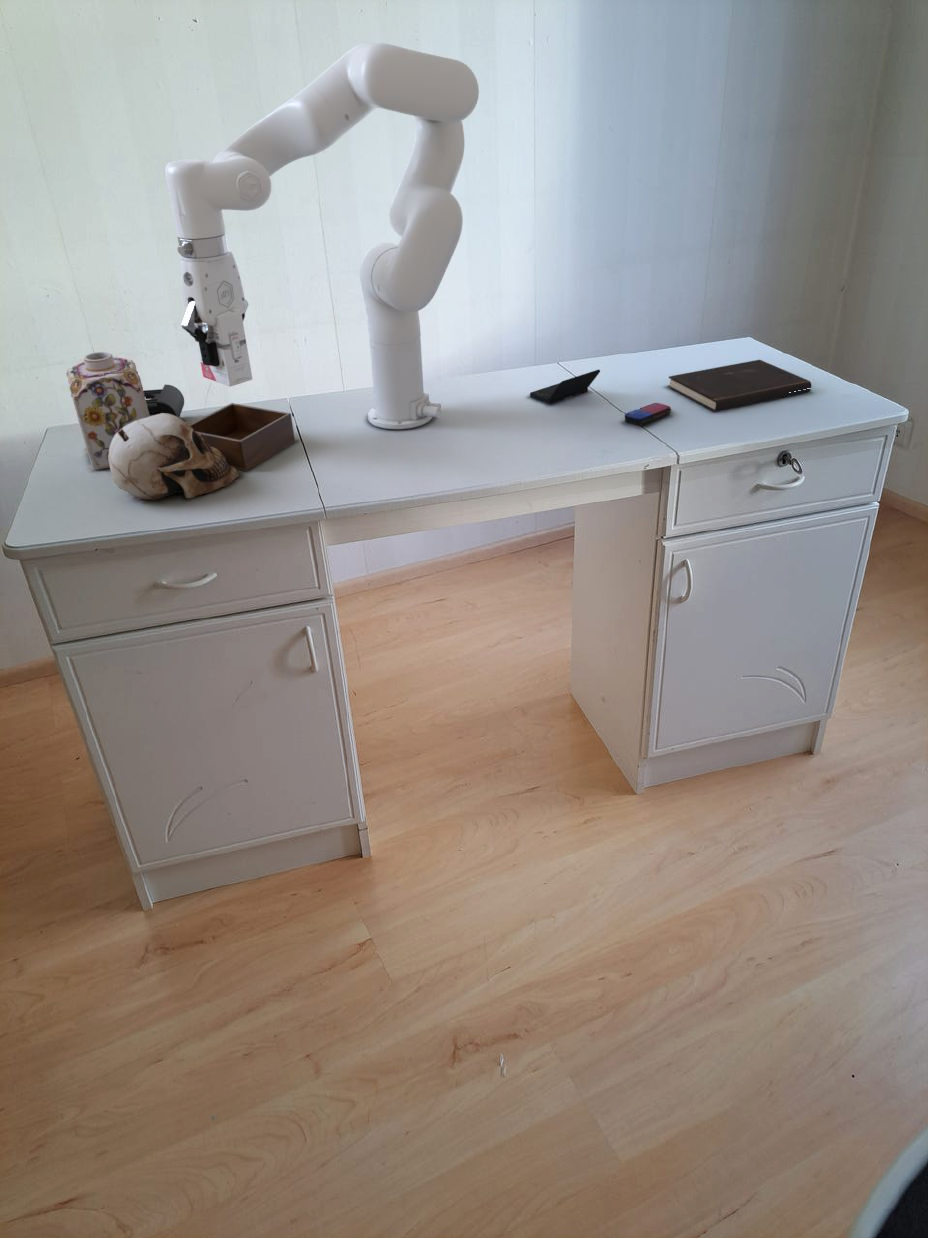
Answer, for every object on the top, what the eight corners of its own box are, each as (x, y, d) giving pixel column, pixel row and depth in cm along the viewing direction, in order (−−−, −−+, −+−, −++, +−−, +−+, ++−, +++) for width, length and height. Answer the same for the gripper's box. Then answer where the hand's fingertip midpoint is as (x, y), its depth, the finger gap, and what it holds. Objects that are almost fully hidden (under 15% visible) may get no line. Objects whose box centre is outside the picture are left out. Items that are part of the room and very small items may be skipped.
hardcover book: (667, 387, 178) (668, 376, 177) (757, 369, 186) (759, 359, 184) (715, 412, 166) (716, 401, 165) (810, 393, 173) (812, 381, 172)
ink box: (201, 377, 151) (187, 307, 145) (225, 369, 154) (212, 301, 148) (230, 387, 146) (217, 316, 140) (254, 380, 149) (242, 309, 143)
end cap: (181, 435, 164) (173, 400, 161) (142, 438, 164) (134, 403, 160) (188, 416, 173) (180, 382, 169) (151, 418, 172) (143, 385, 168)
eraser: (657, 408, 169) (658, 399, 168) (674, 413, 166) (675, 404, 166) (620, 422, 163) (621, 413, 162) (637, 428, 160) (638, 419, 159)
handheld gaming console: (559, 374, 181) (581, 344, 173) (581, 400, 181) (605, 370, 172) (524, 397, 176) (546, 367, 167) (548, 423, 175) (571, 394, 167)
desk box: (295, 441, 160) (291, 413, 157) (246, 471, 150) (240, 441, 147) (236, 430, 166) (231, 402, 163) (185, 458, 155) (179, 429, 152)
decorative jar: (88, 447, 161) (60, 350, 150) (152, 436, 164) (129, 341, 154) (92, 472, 152) (62, 370, 141) (161, 459, 155) (136, 360, 145)
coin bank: (247, 471, 149) (225, 399, 141) (183, 525, 138) (155, 450, 129) (177, 461, 155) (152, 391, 147) (110, 511, 144) (79, 439, 135)
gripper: (184, 260, 131) (207, 377, 141) (256, 238, 143) (272, 347, 153) (147, 256, 133) (172, 371, 144) (221, 235, 146) (239, 342, 156)
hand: (224, 358), depth 148 cm, fingers closed on ink box, 5 cm apart
